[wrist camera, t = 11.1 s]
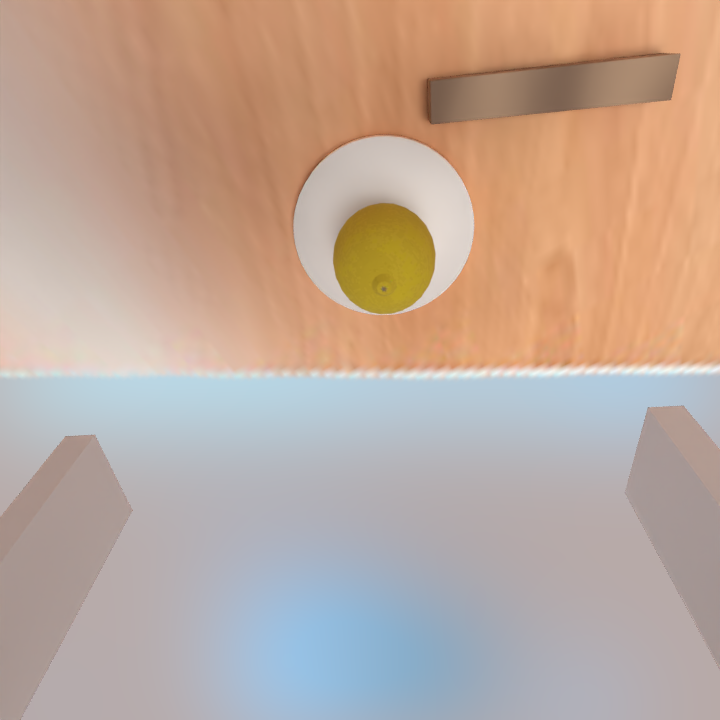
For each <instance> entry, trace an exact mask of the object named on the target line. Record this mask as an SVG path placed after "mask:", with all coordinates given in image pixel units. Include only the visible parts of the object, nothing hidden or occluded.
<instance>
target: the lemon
mask: <svg viewBox="0 0 720 720" xmlns="http://www.w3.org/2000/svg"><path fill="white" fill-rule="evenodd" d="M435 257H436V253H435V247H434V242H433V238H432V236H431V234H430V232H429V230H428V228H427V226H426V224H425V223H424V222H423V221H422V220H421V219H420V218H419V217H418V216H417V215H416V214H415V213H413V212H412V211H410V210H409V209H407V208H405V207H402V206H399V205H396V204H391V203H379V204H374V205H369V206H367V207H365V208H363V209H361V210H358V211H357V212H356V213H355V214H354V215H352V216H351V217H350V218H349V219H348V220H347V221H346V223H345V224H344V225H343V227H342V228H341V230H340V231H339V234H338V236H337V239H336V242H335V245H334V253H333V265H334V271H335V276H336V279H337V281H338V283H339V285H340V287H341V290H342V291H343V293H344V294H345V295H346V296H347V297H348V299H349V300H350V301H351V302H353V303H354V304H355V305H357V306H358V307H359V308H361V309H364V310H366V311H368V312H371V313H377V314H392V313H396V312H399V311H403V310H404V309H406V308H408V307H410V306H412V305H413V304H414V303H415V302H416V301H417V300H419V299H420V298H421V297H422V295H423V294H424V292H425V291H426V289H427V288H428V286H429V284H430V282H431V279H432V276H433V273H434V270H435Z"/></svg>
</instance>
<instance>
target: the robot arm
mask: <svg viewBox="0 0 720 720" xmlns="http://www.w3.org/2000/svg"><path fill="white" fill-rule="evenodd" d="M625 494H626V496H627V498H628V500H629V502H630V503H631V505H632V507H633V509H634V511H635V513H636V515H637V516H638V518H639V520H640V522H641V524H642V526H643V528H644V530H645V531H646V533H647V535H648V537H649V539H650V541H651V542H652V544H653V546H654V548H655V550H656V552H657V554H658V556H659V557H660V559H661V561H662V563H663V565H664V567H665V569H666V570H667V572H668V574H669V576H670V578H671V580H672V581H673V583H674V585H675V587H676V589H677V591H678V593H679V595H680V597H681V598H682V600H683V602H684V604H685V606H686V608H687V610H688V611H689V613H690V615H691V617H692V619H693V621H694V622H695V624H696V626H697V628H698V630H699V632H700V634H701V635H702V637H703V639H704V641H705V643H706V645H707V647H708V649H709V650H710V652H711V654H712V656H713V658H714V660H715V662H716V664H717V665H718V667H719V669H720V449H719V448H718V447H717V446H716V444H715V443H714V442H713V441H712V439H711V438H710V437H709V436H708V435H707V433H706V432H705V431H704V430H703V429H702V427H701V426H700V425H699V424H698V423H697V421H696V420H695V419H694V418H693V417H692V415H691V414H690V413H689V412H688V411H687V409H686V408H685V407H684V406H668V407H648V409H647V413H646V416H645V420H644V424H643V427H642V431H641V435H640V438H639V442H638V446H637V450H636V453H635V457H634V461H633V464H632V468H631V472H630V476H629V479H628V483H627V487H626V490H625ZM132 511H133V510H132V508H131V506H130V504H129V502H128V500H127V498H126V496H125V494H124V492H123V491H122V488H121V486H120V484H119V482H118V480H117V478H116V476H115V474H114V472H113V470H112V468H111V466H110V464H109V462H108V460H107V458H106V456H105V454H104V452H103V450H102V448H101V446H100V444H99V442H98V440H97V438H96V436H95V435H81V436H65V438H64V439H63V440H62V442H61V443H60V444H59V445H58V446H57V448H56V449H55V450H54V451H53V453H52V454H51V455H50V456H49V458H48V459H47V460H46V461H45V462H44V464H43V465H42V466H41V467H40V469H39V470H38V471H37V473H36V474H35V475H34V476H33V477H32V479H31V480H30V481H29V482H28V484H27V485H26V486H25V487H24V488H23V490H22V491H21V492H20V493H19V495H18V496H17V497H16V499H15V500H14V501H13V502H12V503H11V505H10V506H9V507H8V508H7V510H6V511H5V512H4V513H3V515H2V516H1V517H0V720H21V718H22V716H23V714H24V712H25V710H26V709H27V707H28V705H29V703H30V701H31V699H32V697H33V695H34V694H35V692H36V690H37V688H38V686H39V684H40V683H41V681H42V679H43V677H44V675H45V673H46V671H47V669H48V668H49V666H50V664H51V662H52V660H53V658H54V656H55V655H56V653H57V651H58V649H59V647H60V645H61V643H62V641H63V640H64V638H65V636H66V634H67V632H68V630H69V628H70V626H71V624H72V623H73V621H74V619H75V617H76V615H77V613H78V611H79V610H80V608H81V606H82V604H83V602H84V600H85V598H86V597H87V595H88V593H89V591H90V589H91V587H92V585H93V584H94V582H95V580H96V578H97V576H98V574H99V572H100V570H101V569H102V567H103V565H104V563H105V561H106V559H107V557H108V555H109V554H110V552H111V550H112V548H113V546H114V544H115V542H116V540H117V539H118V537H119V535H120V533H121V531H122V529H123V527H124V526H125V524H126V522H127V520H128V518H129V516H130V514H131V512H132Z"/></svg>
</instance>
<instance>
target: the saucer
mask: <svg viewBox="0 0 720 720" xmlns="http://www.w3.org/2000/svg"><path fill="white" fill-rule="evenodd" d="M379 203H391V204H396V205H399V206H402V207H405V208H407V209H409V210H410V211H412V212H413V213H415V214H416V215H417V216H418V217H419V218H420V219H421V220H422V221H423V222H424V223H425V224H426V226H427V228H428V230H429V232H430V234H431V236H432V238H433V242H434V247H435V253H436V257H435V270H434V273H433V276H432V279H431V282H430V284H429V286H428V288H427V289H426V291H425V292H424V294H423V295H422V297H421V298H420V299H419V300H417V301H416V302H415V303H414V304H413V305H412V306H410V307H408V308H406V309H404V310H403V311H399V312H396V313H392V314H400V313H404V312H408V311H411V310H414V309H417V308H419V307H421V306H423V305H425V304H427V303H429V302H431V301H432V300H434V299H435V298H437V297H438V296H440V295H441V294H442V293H443V292H444V291H445V290H446V289H448V287H449V286H450V285H451V284H452V283H453V282H454V281H455V279H456V278H457V277H458V275H459V274H460V272H461V271H462V269H463V267H464V265H465V263H466V261H467V259H468V256H469V253H470V250H471V246H472V242H473V235H474V214H473V209H472V203H471V200H470V197H469V194H468V191H467V189H466V187H465V185H464V183H463V181H462V180H461V178H460V176H459V175H458V173H457V172H456V170H455V169H454V167H453V166H452V165H451V164H450V163H449V162H448V161H447V160H446V159H445V158H444V157H443V156H442V155H441V154H439V153H438V152H437V151H436V150H434V149H432V148H431V147H429V146H428V145H426V144H424V143H422V142H419V141H417V140H414V139H411V138H408V137H404V136H398V135H389V134H385V135H372V136H366V137H362V138H359V139H356V140H352V141H350V142H348V143H346V144H344V145H342V146H340V147H338V148H337V149H335V150H334V151H333V152H331V153H330V154H329V155H327V156H326V157H325V158H324V159H323V160H322V161H321V162H320V163H319V164H318V165H317V167H316V168H315V169H314V170H313V171H312V173H311V175H310V176H309V178H308V179H307V181H306V183H305V184H304V186H303V188H302V191H301V193H300V195H299V198H298V201H297V204H296V208H295V214H294V229H293V231H294V240H295V245H296V249H297V253H298V256H299V259H300V261H301V264H302V266H303V267H304V269H305V271H306V273H307V274H308V276H309V277H310V279H311V280H312V281H313V283H314V284H315V285H316V286H317V287H318V288H319V289H320V290H321V291H322V292H323V293H324V294H325V295H327V296H328V297H329V298H331V299H332V300H334V301H335V302H337V303H338V304H340V305H342V306H344V307H346V308H349V309H352V310H355V311H358V312H362V313H366V314H374V315H392V314H377V313H371V312H368V311H366V310H364V309H361V308H359V307H358V306H357V305H355V304H354V303H353V302H351V301H350V300H349V299H348V297H347V296H346V295H345V294H344V293H343V291H342V290H341V287H340V285H339V283H338V281H337V279H336V276H335V271H334V265H333V253H334V245H335V242H336V239H337V236H338V234H339V231H340V230H341V228H342V227H343V225H344V224H345V223H346V221H347V220H348V219H349V218H350V217H351V216H352V215H354V214H355V213H356V212H357V211H358V210H361V209H363V208H365V207H367V206H369V205H374V204H379Z"/></svg>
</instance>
